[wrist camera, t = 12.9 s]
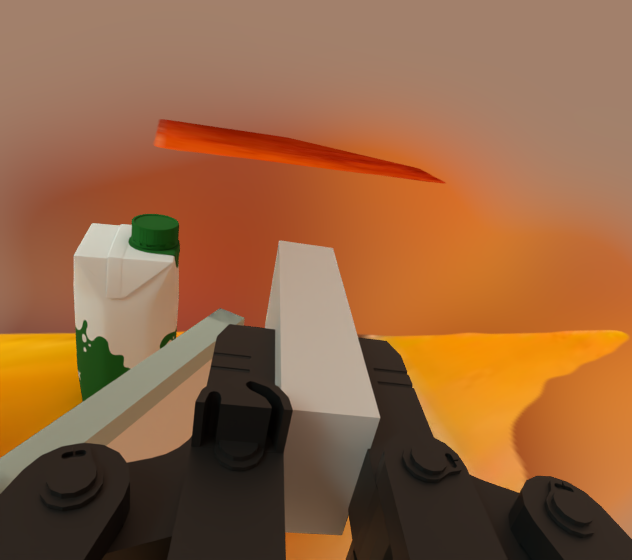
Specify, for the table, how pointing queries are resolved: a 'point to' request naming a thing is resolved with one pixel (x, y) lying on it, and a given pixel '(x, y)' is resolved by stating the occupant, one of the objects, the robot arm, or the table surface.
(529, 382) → the table surface
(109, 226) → the milk carton
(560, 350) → the table surface
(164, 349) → the beige framed panel
